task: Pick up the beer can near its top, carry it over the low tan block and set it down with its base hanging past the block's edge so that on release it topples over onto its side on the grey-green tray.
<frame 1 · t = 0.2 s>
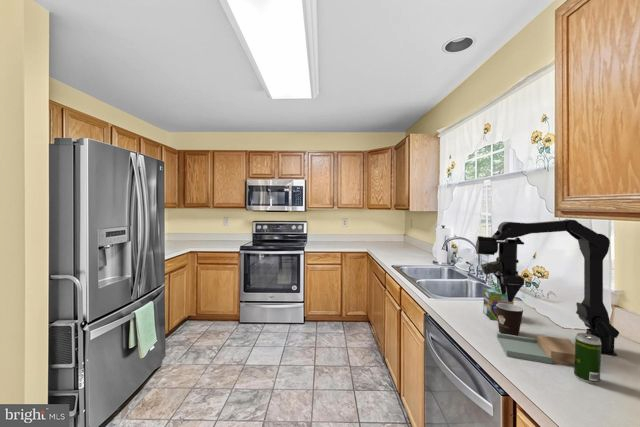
hand: (506, 297, 107), 15 cm above the countertop, fingers open, 9 cm apart
coffee mug: (506, 331, 112), on the countertop
beer can: (586, 379, 81), on the countertop
tan block: (560, 355, 94), on the countertop
grey-green tray: (521, 349, 98), on the countertop
chalk box: (497, 317, 127), on the countertop
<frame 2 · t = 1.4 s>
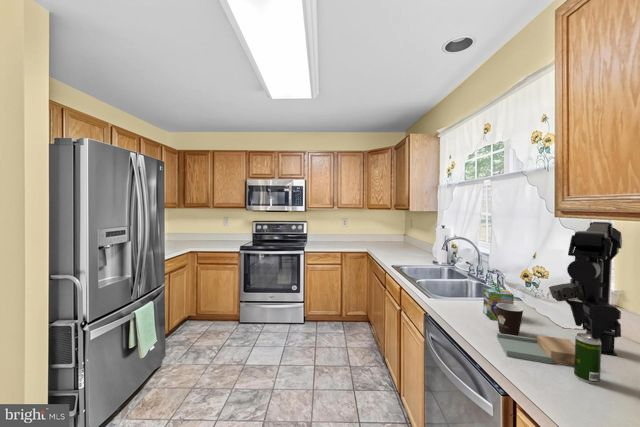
hand: (586, 332, 81), 13 cm above the countertop, fingers open, 9 cm apart
nothing on the countertop moved.
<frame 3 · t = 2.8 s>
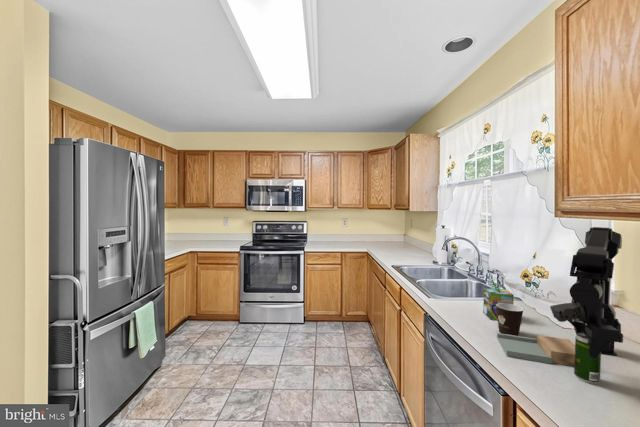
hand: (587, 352, 81), 8 cm above the countertop, fingers closed on beer can, 5 cm apart
beer can: (586, 379, 81), on the countertop, touching gripper
everything else where it was.
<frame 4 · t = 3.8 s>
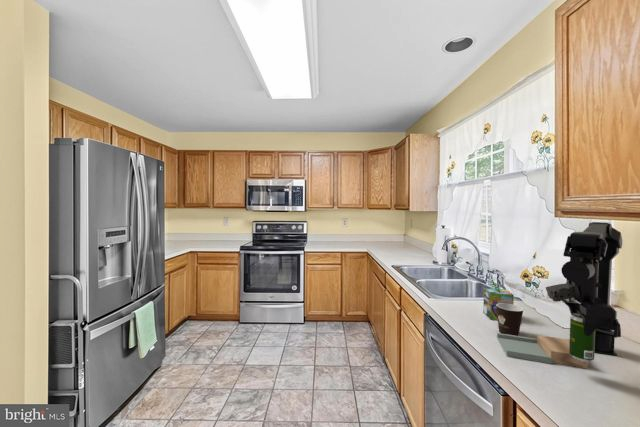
hand: (582, 331, 83), 13 cm above the countertop, fingers closed on beer can, 5 cm apart
beer can: (581, 358, 83), point 5 cm above the countertop, touching gripper
everything else where it was.
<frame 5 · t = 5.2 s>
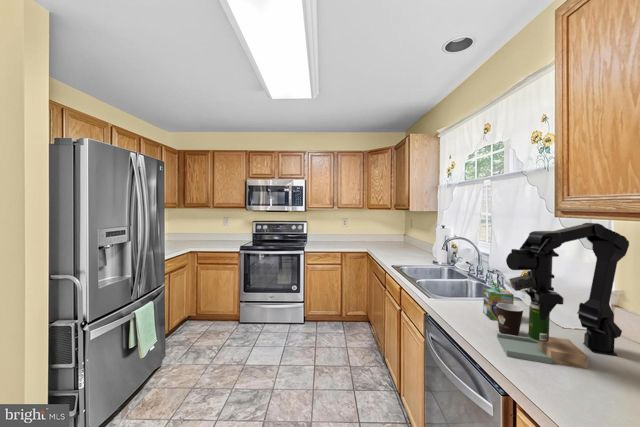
hand: (539, 316, 96), 12 cm above the countertop, fingers closed on beer can, 5 cm apart
beer can: (538, 340, 96), point 4 cm above the countertop, touching gripper
everything else where it was.
when the fingers open (12 cm above the countertop, at t = 5.3 s): beer can moves 3 cm, resting on grey-green tray.
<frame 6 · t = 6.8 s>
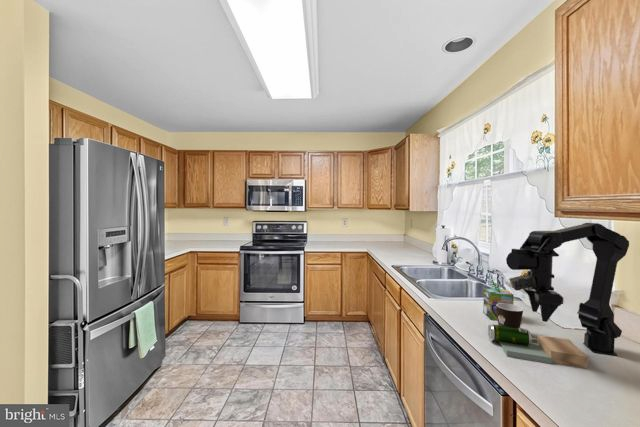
hand: (539, 316, 96), 12 cm above the countertop, fingers open, 9 cm apart
beer can: (529, 337, 99), point 3 cm above the countertop, touching grey-green tray
everything else where it was.
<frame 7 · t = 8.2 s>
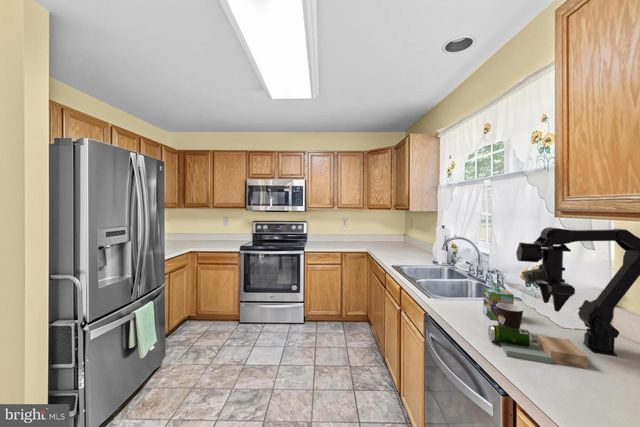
hand: (551, 306, 103), 13 cm above the countertop, fingers open, 9 cm apart
nothing on the countertop moved.
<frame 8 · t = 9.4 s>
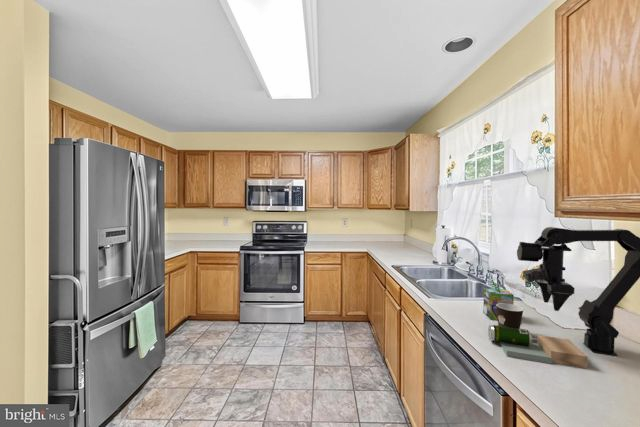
hand: (550, 306, 103), 13 cm above the countertop, fingers open, 9 cm apart
nothing on the countertop moved.
at the end: beer can tilted 90°; beer can inside the target area (5.7 cm from its centre), point 3.3 cm above the countertop; the gripper is holding nothing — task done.
